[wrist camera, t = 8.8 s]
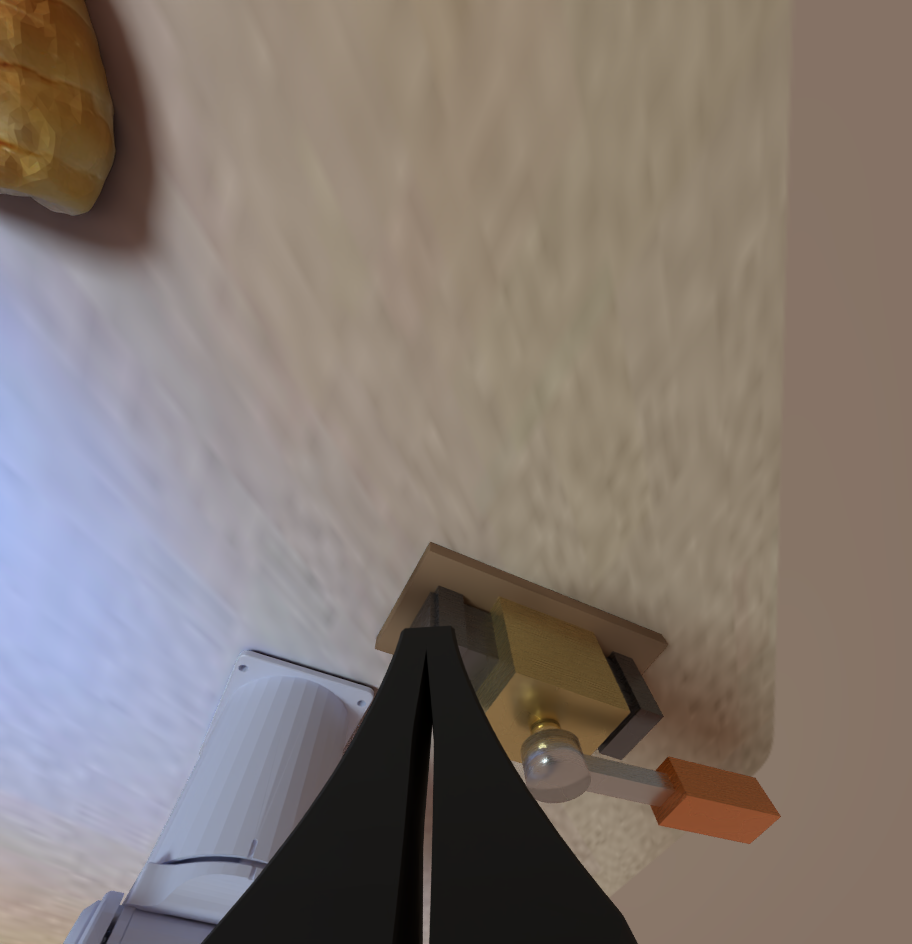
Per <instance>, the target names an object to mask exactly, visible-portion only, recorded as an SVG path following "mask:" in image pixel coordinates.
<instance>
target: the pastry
mask: <svg viewBox="0 0 912 944" xmlns="http://www.w3.org/2000/svg"><path fill="white" fill-rule="evenodd" d="M113 115H114V108H113V103H112V100H111V96H110V93H109V89H108V85H107V78H106V73H105V69H104V66H103V63H102V60H101V56H100V51H99V45H98V41H97V38H96V35H95V32H94V29H93V27H92V24H91V20H90V17H89V14H88V10H87V7H86V4H85V1H84V0H0V194H9V195H12V196H23V197H27V196H29V197H32V198H33V199H34V200H36V201H37V202H38V203H39V204H41V205H43V206H45V207H46V208H48V209H49V210H51V211H53V212H58V213H65V214H69V215H71V216H76V215H80V214H83V213H86V212H88V211H89V210H90V209H91V208H92V207H93V205H94V203H95V202H96V200H97V198H98V196H99V194H100V193H101V190H102V187H103V185H104V182H105V180H106V178H107V176H108V174H109V172H110V170H111V167H112V165H113V162H114V157H115V154H116V150H115V145H114V134H113Z"/></svg>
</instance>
